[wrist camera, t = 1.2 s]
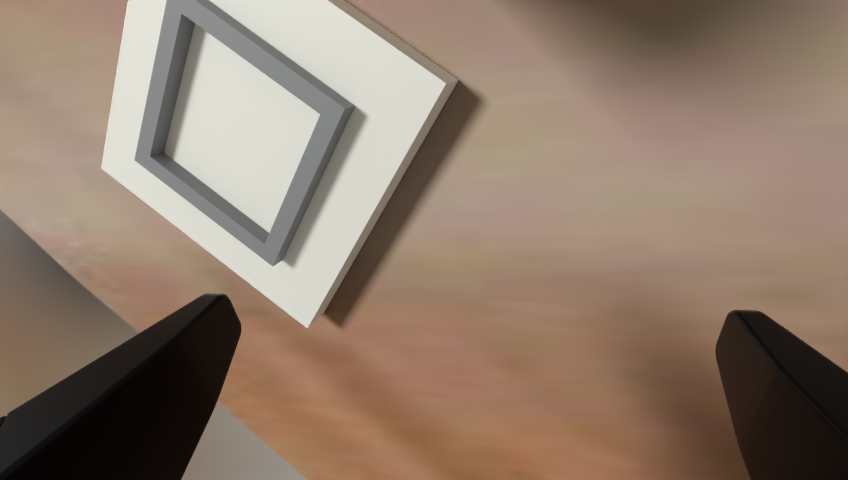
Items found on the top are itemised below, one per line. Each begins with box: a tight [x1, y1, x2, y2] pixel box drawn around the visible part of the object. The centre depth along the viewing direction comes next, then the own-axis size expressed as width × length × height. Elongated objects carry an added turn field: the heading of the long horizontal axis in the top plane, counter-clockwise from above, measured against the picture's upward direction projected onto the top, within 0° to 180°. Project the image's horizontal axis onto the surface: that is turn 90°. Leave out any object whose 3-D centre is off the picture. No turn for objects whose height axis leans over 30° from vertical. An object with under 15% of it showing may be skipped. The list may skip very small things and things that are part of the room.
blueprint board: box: [101, 0, 458, 328], centre depth 21 cm, size 14×14×2 cm
